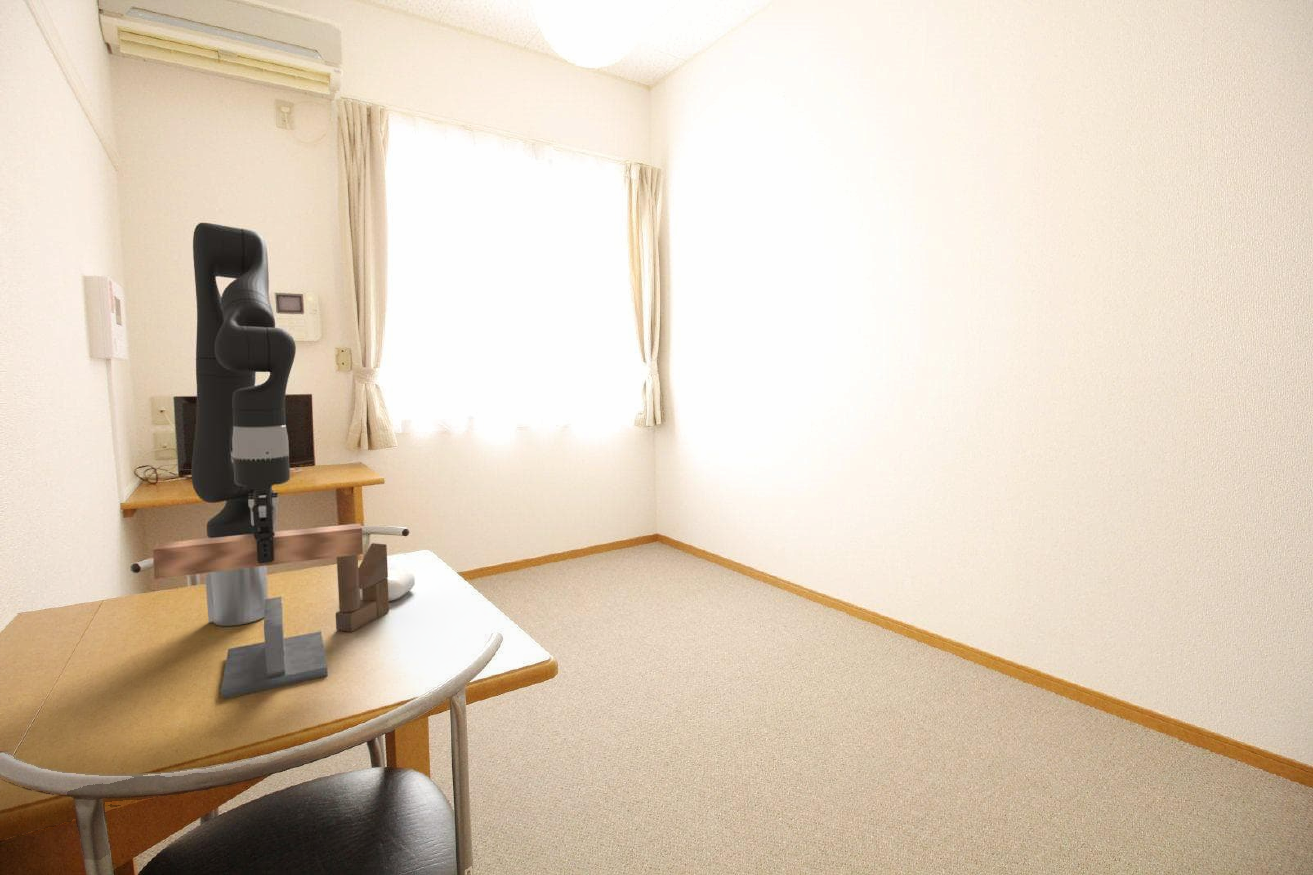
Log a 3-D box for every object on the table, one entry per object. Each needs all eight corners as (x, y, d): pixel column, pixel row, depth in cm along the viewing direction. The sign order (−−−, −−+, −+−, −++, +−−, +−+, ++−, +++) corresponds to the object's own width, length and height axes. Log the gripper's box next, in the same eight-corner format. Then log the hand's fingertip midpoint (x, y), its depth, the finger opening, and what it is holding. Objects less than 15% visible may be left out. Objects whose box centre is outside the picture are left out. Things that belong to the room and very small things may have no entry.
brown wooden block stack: (390, 611, 126) (386, 525, 124) (351, 633, 116) (346, 539, 114) (374, 609, 127) (370, 524, 125) (335, 631, 117) (330, 538, 115)
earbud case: (397, 606, 129) (396, 581, 129) (338, 604, 131) (337, 579, 130) (420, 589, 139) (419, 566, 139) (366, 587, 141) (364, 564, 140)
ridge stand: (327, 675, 99) (324, 618, 98) (221, 699, 92) (217, 638, 91) (321, 639, 113) (318, 588, 112) (228, 657, 106) (224, 603, 105)
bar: (154, 579, 91) (152, 549, 91) (158, 571, 95) (157, 543, 94) (362, 553, 106) (361, 528, 105) (360, 548, 109) (359, 523, 108)
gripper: (289, 458, 94) (293, 567, 96) (288, 447, 106) (292, 544, 108) (229, 461, 90) (235, 575, 92) (236, 449, 102) (241, 550, 104)
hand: (266, 557), depth 100 cm, fingers closed on bar, 3 cm apart
